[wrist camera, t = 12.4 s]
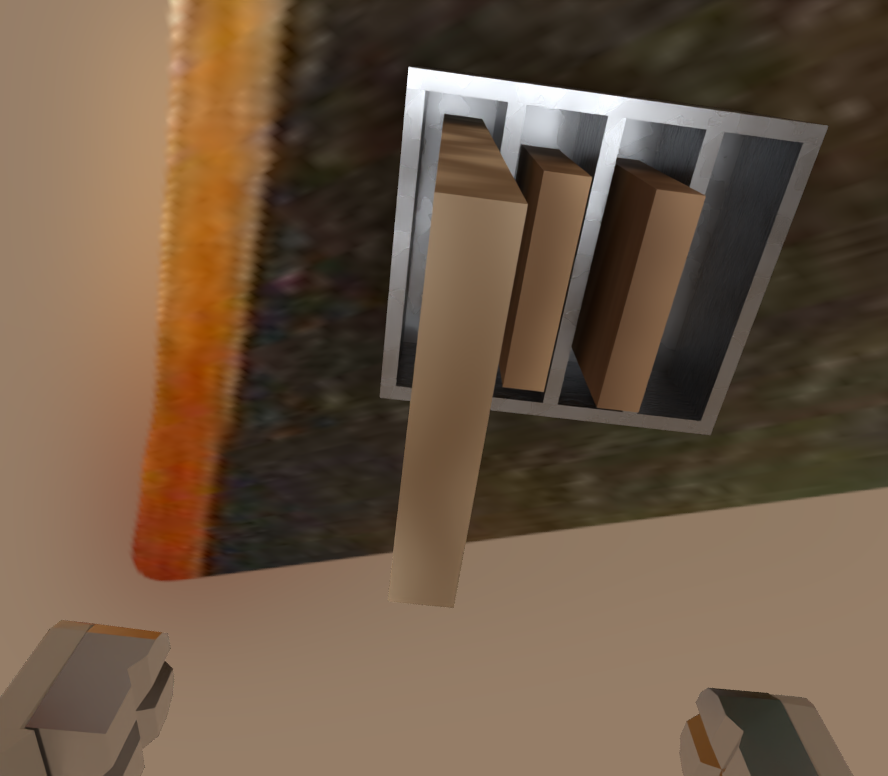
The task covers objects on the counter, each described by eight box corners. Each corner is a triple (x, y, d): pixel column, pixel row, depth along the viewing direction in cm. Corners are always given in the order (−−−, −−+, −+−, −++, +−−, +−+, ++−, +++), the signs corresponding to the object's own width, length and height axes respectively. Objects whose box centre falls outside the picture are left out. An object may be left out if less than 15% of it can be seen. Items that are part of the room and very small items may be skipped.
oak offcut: (558, 149, 33) (592, 177, 25) (524, 322, 38) (543, 391, 30) (521, 144, 33) (543, 170, 25) (491, 318, 38) (502, 386, 30)
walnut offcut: (638, 160, 34) (706, 196, 25) (595, 330, 38) (638, 412, 29) (602, 155, 34) (656, 189, 25) (562, 327, 38) (596, 407, 29)
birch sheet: (481, 118, 33) (528, 204, 13) (452, 329, 38) (453, 607, 19) (444, 113, 33) (434, 192, 13) (419, 325, 38) (387, 601, 19)
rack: (754, 113, 34) (828, 125, 27) (668, 374, 41) (710, 435, 35) (417, 65, 33) (408, 67, 26) (391, 342, 40) (379, 397, 34)
